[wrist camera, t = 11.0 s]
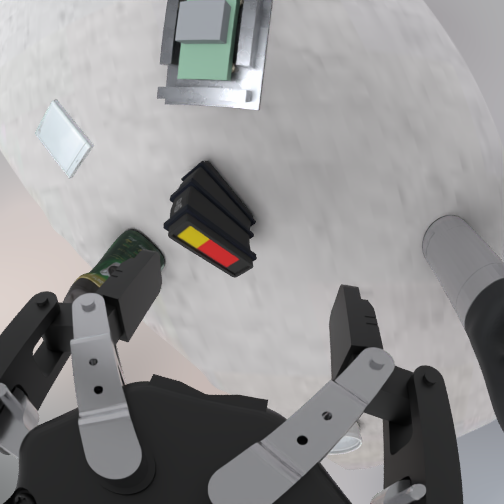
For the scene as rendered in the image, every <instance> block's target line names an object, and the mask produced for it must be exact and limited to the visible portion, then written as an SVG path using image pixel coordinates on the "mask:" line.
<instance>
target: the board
mask: <svg viewBox="0 0 504 504" xmlns="http://www.w3.org/2000/svg"><path fill="white" fill-rule="evenodd" d="M239 7H240V0H187V1H182V2H180V7H179V14H178V21H177V29H176V37H175V41H178V42H181V48H180V57H179V67H178V78H177V79H195V80H222V81H231V72H232V63H233V54H234V46H235V37H236V30H237V22H238V14H239Z"/></svg>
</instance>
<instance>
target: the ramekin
mask: <svg viewBox="0 0 504 504" xmlns="http://www.w3.org/2000/svg"><path fill="white" fill-rule="evenodd" d="M361 444H362V438H361V435H360V430H359V425H358V423H357V422H355V424H354V425H353V426H352V427H351V428H350V430H349V431H348V432H347V433H346V434H345V435H344V437H343V438H342V439H341V440H340V441H339V442H338V443H337V444H336V446H335V447H334V448H333V449H332V450H331V451H330V452H329V453H328V454H330V455H335V454H344V453H348V452H351V451H354V450H356V449H358V448H359V447H360V446H361Z"/></svg>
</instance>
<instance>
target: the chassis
mask: <svg viewBox="0 0 504 504" xmlns="http://www.w3.org/2000/svg"><path fill="white" fill-rule="evenodd" d="M182 1H187V0H168V2H167V8H166V15H165V22H164V30H163V38H162V47H161V57H160V64H161V65H167V66H168V71H167V83H166V87H158V93H157V99H158V98H165V104H183V105H206V106H222V107H234V108H245V109H254V110H259V107H260V98H261V89H262V81H263V73H264V64H265V56H266V48H267V39H268V31H269V23H270V15H271V7H272V0H240V7H239V14H238V22H237V30H236V37H235V46H234V54H233V63H232V72H231V81H222V80H195V79H177V78H178V67H179V57H180V48H181V42H178V41H175V37H176V29H177V21H178V14H179V7H180V2H182Z"/></svg>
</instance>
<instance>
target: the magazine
mask: <svg viewBox="0 0 504 504" xmlns="http://www.w3.org/2000/svg"><path fill="white" fill-rule="evenodd" d="M181 180H182V181H183V182H182V184H181V185H180V187H179V189H178V190H177V191H176V192H174V193H173V194H172V195H171V197H170V201H171V202H173V205H172V208H171V212H170V219H168V220H167V221H166V222H165V223H164V229H166V230H167V231H169V233H168V236H169V238H171V239H172V240H174V241H176V242H177V243H179V244H180V245H182V246H183V247H185V248H187V249H188V250H190V251H191V252H193V253H195V254H196V255H198V256H199V257H201V258H203V259H204V260H206V261H207V262H209V263H211V264H212V265H214V266H216V267H217V268H219V269H220V270H222V271H224V272H225V273H227V274H229V275H230V276H232V277H238V276H239V275H241V274H243V273H245V272H246V271H248V270H250V269H251V268H253V261H254V260H256V259H257V257H256V254H255V253H254V252H252V251H251V250H250V244H249V239H251V238H252V237H254V234H253V233H252V232H251V231H250V226H252V225H253V224H255V222H256V221H255V220H254V219H253V216H252V214H251V213H250V212H249V211H248V209H247V208H246V207H245V206H244V204H243V203H242V202H241V201H240V199H239V198H238V197H237V196H236V195H235V193H234V192H233V191H232V190H231V188H230V187H229V186H228V185H227V183H226V182H225V181H224V180H223V179H222V177H221V176H220V175H219V174H218V172H217V171H216V170H215V169H214V168H213V166H212V165H211V164H210V163H209V162H208V161H205V162H204V161H202V162H201V163H199V164H198V165H197V166H196V167H195V168H193V169H192V170H191V171H190V172H189V173H188V174H186V175H185V176H184V177H183V178H182V179H181Z"/></svg>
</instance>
